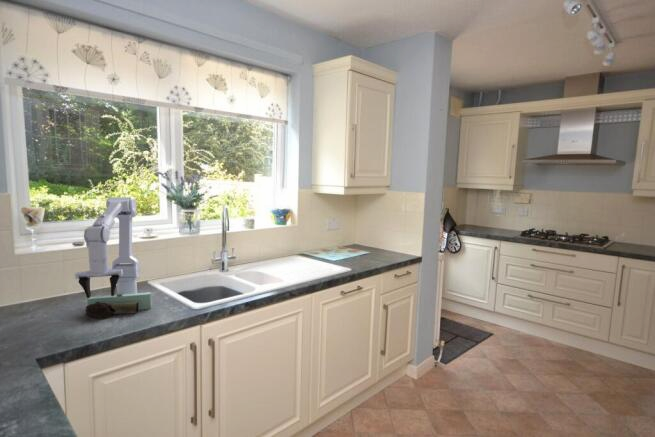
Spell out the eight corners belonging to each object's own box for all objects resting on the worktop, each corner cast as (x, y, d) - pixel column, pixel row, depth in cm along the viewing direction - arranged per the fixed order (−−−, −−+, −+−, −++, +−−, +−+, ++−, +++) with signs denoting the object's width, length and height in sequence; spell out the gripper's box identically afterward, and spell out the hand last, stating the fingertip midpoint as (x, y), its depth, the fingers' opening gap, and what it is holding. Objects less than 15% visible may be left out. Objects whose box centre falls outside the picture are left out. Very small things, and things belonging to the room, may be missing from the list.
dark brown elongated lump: (139, 310, 149) (138, 297, 148) (135, 317, 143) (135, 303, 142) (88, 314, 144) (87, 300, 143) (82, 321, 138) (81, 306, 137)
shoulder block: (90, 311, 147) (89, 294, 146) (151, 306, 153) (151, 290, 153) (88, 314, 144) (87, 297, 143) (150, 308, 151) (150, 292, 150)
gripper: (71, 263, 128) (74, 301, 129) (119, 260, 132) (121, 297, 134) (77, 258, 134) (80, 295, 136) (123, 256, 139) (125, 291, 141)
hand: (101, 296), depth 135 cm, fingers open, 7 cm apart
